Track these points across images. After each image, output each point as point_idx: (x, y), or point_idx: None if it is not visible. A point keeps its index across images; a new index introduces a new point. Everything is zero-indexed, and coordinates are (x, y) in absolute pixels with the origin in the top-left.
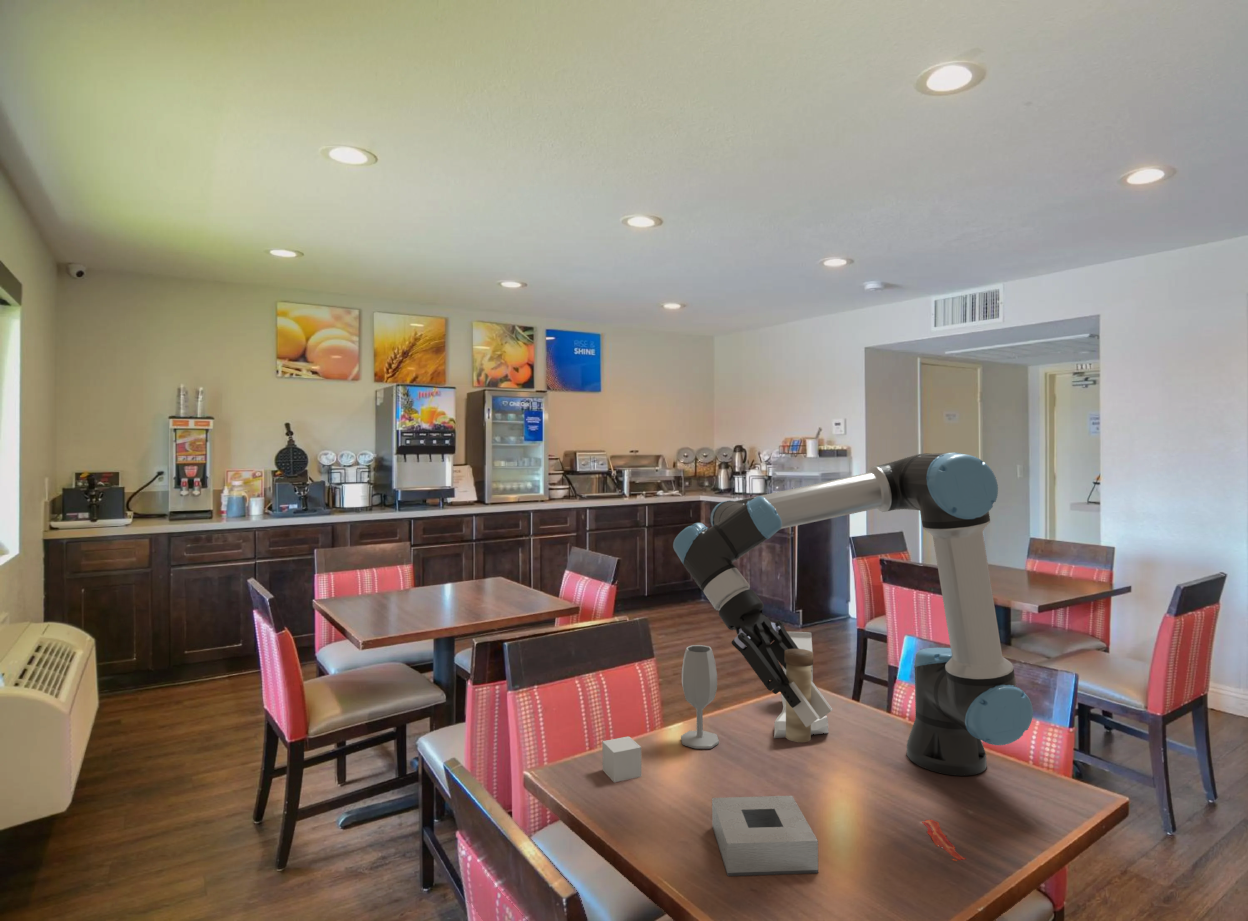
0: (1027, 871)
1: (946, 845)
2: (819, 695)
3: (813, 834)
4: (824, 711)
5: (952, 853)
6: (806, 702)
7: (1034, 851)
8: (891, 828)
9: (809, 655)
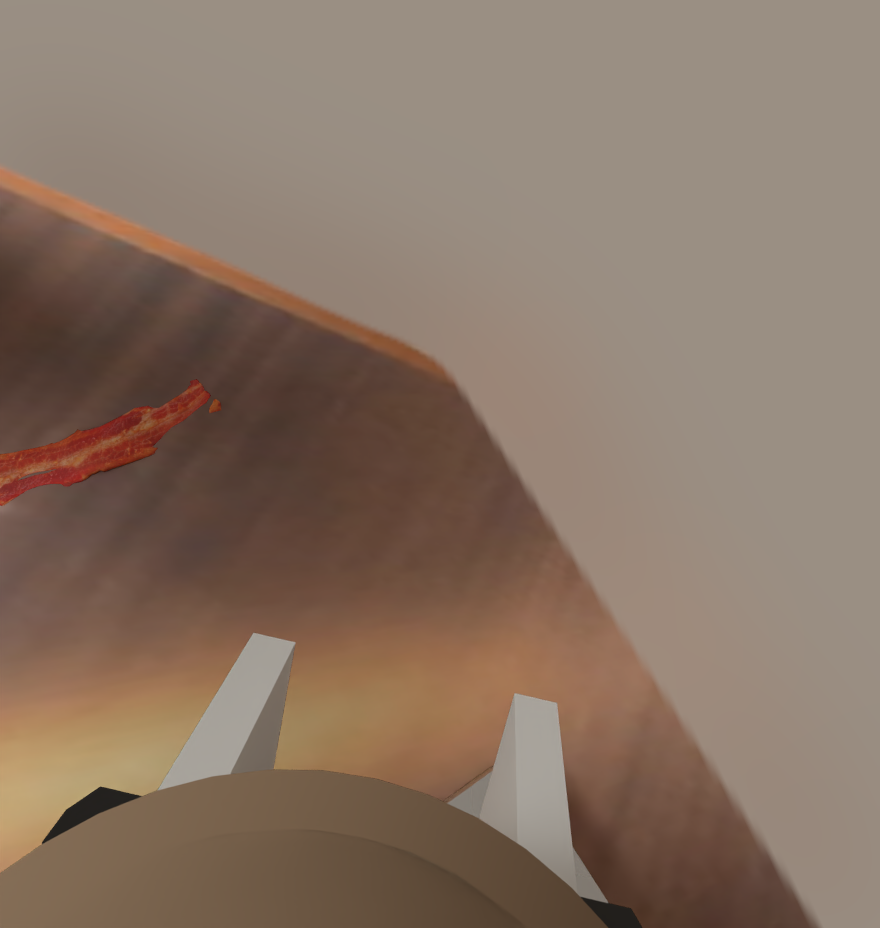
0: (196, 255)
1: (140, 427)
2: (240, 752)
3: (477, 785)
4: (276, 712)
5: (178, 412)
6: (555, 822)
7: (80, 235)
8: (85, 592)
9: (417, 837)
